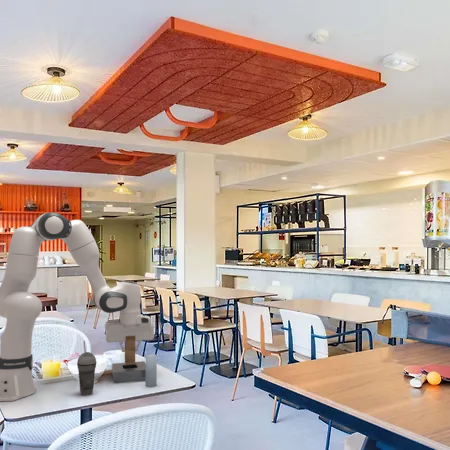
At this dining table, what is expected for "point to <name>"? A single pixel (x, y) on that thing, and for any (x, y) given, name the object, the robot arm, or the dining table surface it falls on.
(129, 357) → the square peg
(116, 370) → the bore block
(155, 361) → the round peg
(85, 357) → the beverage cup
